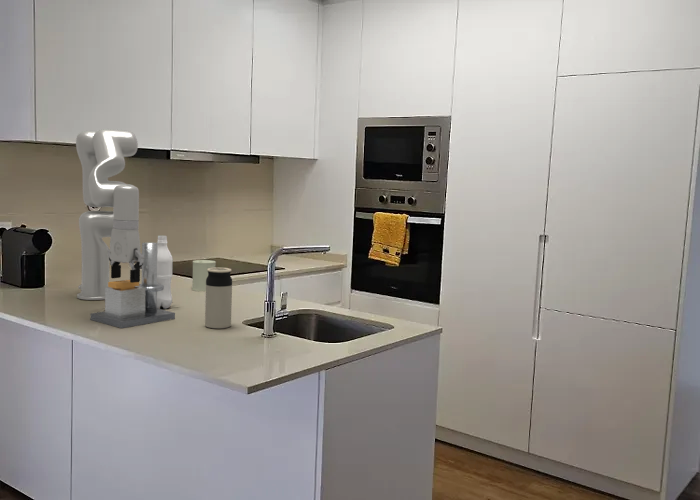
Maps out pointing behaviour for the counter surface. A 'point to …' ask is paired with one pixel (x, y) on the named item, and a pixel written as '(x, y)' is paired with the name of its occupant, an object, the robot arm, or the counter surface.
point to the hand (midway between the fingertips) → (125, 280)
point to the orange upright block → (123, 284)
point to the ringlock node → (136, 297)
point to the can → (201, 273)
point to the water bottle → (164, 273)
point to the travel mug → (218, 298)
